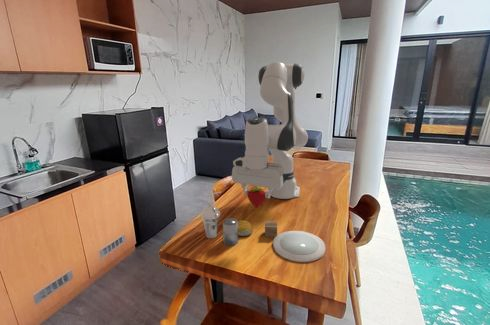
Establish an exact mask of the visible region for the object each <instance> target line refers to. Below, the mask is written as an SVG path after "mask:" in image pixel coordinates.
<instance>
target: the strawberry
mask: <svg viewBox="0 0 490 325" xmlns="http://www.w3.org/2000/svg"><path fill="white" fill-rule="evenodd" d="M266 193H267V192H266V191H265V190H264V188H262V187H259V186H255V187H250V189H249V192H248V195H247V199H248V200H249V202H250V203H251V205H252V206H253V207H254V208H255V209H258V208H259V207H260V206H261V205H263V204H264V202H266V199H267V198H265V194H266Z"/></svg>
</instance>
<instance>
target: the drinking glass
mask: <svg viewBox="0 0 490 325" xmlns="http://www.w3.org/2000/svg"><path fill="white" fill-rule="evenodd" d="M222 232H223V234H222V236H223V237H222V238H223V245H225V246H226V247H233V246H236V245H238V243H239V235H238V219H237V218H233V217H228V218H225V219H224V220H223V221H222Z"/></svg>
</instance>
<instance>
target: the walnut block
mask: <svg viewBox="0 0 490 325" xmlns="http://www.w3.org/2000/svg"><path fill="white" fill-rule="evenodd" d="M264 222H265V223H264V238H266V239H267V238H271V239H274V238H275V237H276V236H277V235H278V221H272V220H271V221H268V220H267V221H266V220H265V221H264Z"/></svg>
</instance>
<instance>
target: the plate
mask: <svg viewBox="0 0 490 325" xmlns="http://www.w3.org/2000/svg"><path fill="white" fill-rule="evenodd" d="M272 241H273V242H272V243H273V244H272V247H273V250H274V251H275V253H276V254H277V255H279V256H280V257H281V258H283V259H286V260H288V261H291V262H297V263H310V262H311V263H312V262H315V261H318V260H319V259H321V258H322V257H323V256H324V255H325V253H326V244H325V242H324V241H323V239H321V238H320V237H319V236H318V235H316V234H313V233H310V232H308V231H303V230H289V231H283V232H280V233H278V234H277V236H276V237H275V238H273V240H272Z"/></svg>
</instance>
